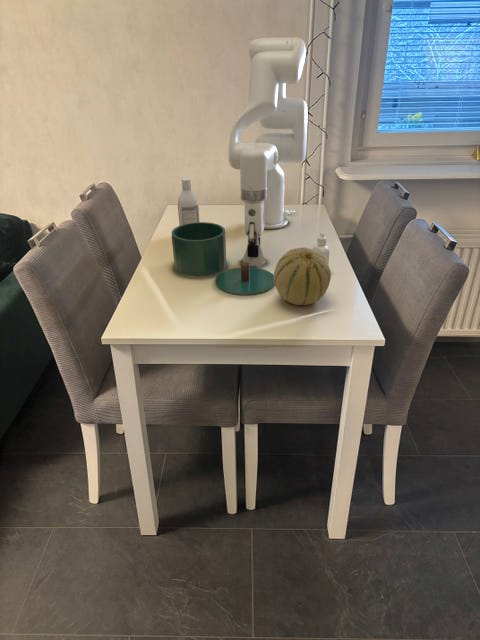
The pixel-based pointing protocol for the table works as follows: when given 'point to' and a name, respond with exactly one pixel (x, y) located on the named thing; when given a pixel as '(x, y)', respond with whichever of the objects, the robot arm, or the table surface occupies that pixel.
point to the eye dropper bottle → (322, 247)
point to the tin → (199, 249)
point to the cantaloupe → (302, 276)
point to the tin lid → (245, 280)
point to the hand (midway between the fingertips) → (254, 252)
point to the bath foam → (187, 204)
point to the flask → (254, 260)
